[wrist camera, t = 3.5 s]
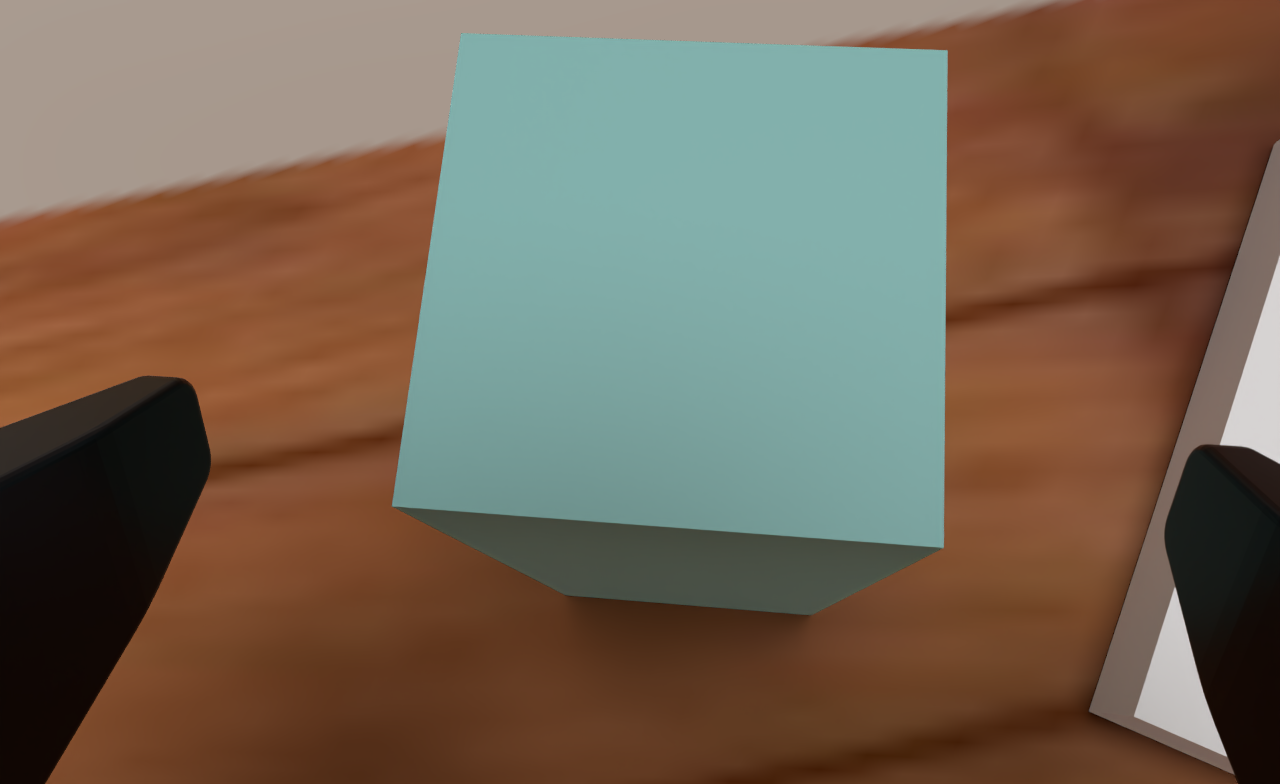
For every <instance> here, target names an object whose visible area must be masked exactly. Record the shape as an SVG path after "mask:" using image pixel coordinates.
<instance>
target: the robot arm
mask: <svg viewBox="0 0 1280 784" xmlns="http://www.w3.org/2000/svg"><path fill="white" fill-rule="evenodd" d="M210 466H211V454H210V448H209V444H208V440H207V435H206V431H205V427H204V423H203V419H202V415H201V411H200V406H199V402H198V398H197V395H196V392H195V389H194V388H193V386H192V385H191V384H190V383H189V382H188V381H187V380H185V379H183V378H177V377H161V376H142V377H138V378H135V379H133V380H130V381H127V382H124V383H122V384H119V385H116V386H113V387H111V388H108V389H105V390H103V391H100V392H97V393H94V394H92V395H89V396H86V397H83V398H81V399H78V400H75V401H73V402H70V403H67V404H64V405H62V406H59V407H56V408H53V409H51V410H48V411H45V412H42V413H40V414H37V415H34V416H32V417H29V418H26V419H23V420H21V421H18V422H15V423H12V424H10V425H7V426H4V427H2V428H0V784H45V783H46V782H47V780H48V778H49V777H50V775H51V773H52V771H53V770H54V768H55V766H56V765H57V763H58V761H59V760H60V758H61V756H62V755H63V753H64V751H65V750H66V748H67V746H68V745H69V743H70V741H71V739H72V738H73V736H74V734H75V733H76V731H77V729H78V728H79V726H80V724H81V723H82V721H83V719H84V718H85V716H86V714H87V712H88V711H89V709H90V707H91V706H92V704H93V702H94V701H95V699H96V697H97V696H98V694H99V692H100V691H101V689H102V687H103V686H104V684H105V682H106V680H107V679H108V677H109V675H110V674H111V672H112V670H113V669H114V667H115V665H116V664H117V662H118V660H119V659H120V657H121V655H122V653H123V652H124V650H125V648H126V647H127V645H128V643H129V642H130V640H131V638H132V637H133V635H134V633H135V632H136V630H137V628H138V626H139V624H140V623H141V621H142V619H143V617H144V615H145V614H146V612H147V610H148V608H149V606H150V604H151V602H152V600H153V598H154V596H155V594H156V592H157V590H158V588H159V586H160V583H161V581H162V579H163V577H164V575H165V572H166V570H167V568H168V566H169V563H170V561H171V559H172V557H173V555H174V552H175V550H176V548H177V546H178V544H179V541H180V539H181V537H182V535H183V532H184V530H185V528H186V526H187V524H188V521H189V519H190V517H191V515H192V512H193V510H194V508H195V506H196V504H197V501H198V499H199V497H200V495H201V492H202V490H203V488H204V486H205V484H206V481H207V479H208V476H209V472H210ZM1164 541H1165V548H1166V553H1167V557H1168V561H1169V565H1170V568H1171V572H1172V576H1173V580H1174V584H1175V588H1176V592H1177V595H1178V599H1179V603H1180V607H1181V611H1182V615H1183V619H1184V622H1185V626H1186V630H1187V634H1188V638H1189V642H1190V646H1191V649H1192V653H1193V657H1194V661H1195V665H1196V669H1197V673H1198V676H1199V679H1200V683H1201V686H1202V689H1203V693H1204V696H1205V699H1206V702H1207V705H1208V708H1209V710H1210V713H1211V716H1212V719H1213V721H1214V724H1215V727H1216V729H1217V732H1218V734H1219V737H1220V739H1221V742H1222V744H1223V747H1224V749H1225V752H1226V754H1227V757H1228V760H1229V762H1230V765H1231V767H1232V770H1233V772H1234V775H1235V777H1236V780H1237V782H1238V784H1280V463H1278V462H1276V461H1274V460H1272V459H1270V458H1268V457H1267V456H1265V455H1263V454H1261V453H1259V452H1257V451H1255V450H1253V449H1251V448H1248V447H1243V446H1230V445H1214V444H1203V445H1200V446H1198V447H1196V448H1195V449H1193V450H1192V452H1191V453H1190V455H1189V456H1188V458H1187V461H1186V463H1185V466H1184V469H1183V472H1182V475H1181V478H1180V481H1179V484H1178V486H1177V489H1176V492H1175V495H1174V498H1173V501H1172V504H1171V507H1170V510H1169V513H1168V516H1167V519H1166V523H1165V529H1164Z"/></svg>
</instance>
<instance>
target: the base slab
mask: <svg viewBox="0 0 1280 784" xmlns="http://www.w3.org/2000/svg"><path fill="white" fill-rule="evenodd" d="M1203 444H1214V445H1230V446H1243V447H1248V448H1251V449H1253V450H1255V451H1257V452H1259V453H1261V454H1263V455H1265V456H1267V457H1268V458H1270V459H1272V460H1274V461H1276V462H1278V463H1280V140H1279V141H1277V142H1276V143H1275V144H1274V146H1273V149H1272V152H1271V155H1270V158H1269V161H1268V164H1267V167H1266V170H1265V173H1264V176H1263V179H1262V182H1261V185H1260V188H1259V192H1258V195H1257V198H1256V201H1255V204H1254V207H1253V210H1252V213H1251V216H1250V219H1249V222H1248V225H1247V228H1246V231H1245V234H1244V237H1243V240H1242V244H1241V247H1240V250H1239V253H1238V256H1237V259H1236V262H1235V265H1234V268H1233V271H1232V274H1231V277H1230V280H1229V283H1228V286H1227V289H1226V293H1225V296H1224V299H1223V302H1222V305H1221V308H1220V311H1219V314H1218V317H1217V320H1216V323H1215V326H1214V329H1213V332H1212V335H1211V338H1210V341H1209V345H1208V348H1207V351H1206V354H1205V357H1204V360H1203V363H1202V366H1201V369H1200V372H1199V375H1198V378H1197V381H1196V384H1195V387H1194V390H1193V393H1192V397H1191V400H1190V403H1189V406H1188V409H1187V412H1186V415H1185V418H1184V421H1183V424H1182V427H1181V430H1180V433H1179V436H1178V439H1177V442H1176V445H1175V449H1174V452H1173V455H1172V458H1171V461H1170V464H1169V467H1168V470H1167V473H1166V476H1165V479H1164V482H1163V485H1162V488H1161V491H1160V494H1159V497H1158V501H1157V504H1156V507H1155V510H1154V513H1153V516H1152V519H1151V522H1150V525H1149V528H1148V531H1147V534H1146V537H1145V540H1144V543H1143V546H1142V550H1141V553H1140V556H1139V559H1138V562H1137V565H1136V568H1135V571H1134V574H1133V577H1132V580H1131V583H1130V586H1129V589H1128V592H1127V595H1126V598H1125V602H1124V605H1123V608H1122V611H1121V614H1120V617H1119V620H1118V623H1117V626H1116V629H1115V632H1114V635H1113V638H1112V641H1111V644H1110V647H1109V650H1108V654H1107V657H1106V660H1105V663H1104V666H1103V669H1102V672H1101V675H1100V678H1099V681H1098V684H1097V687H1096V690H1095V693H1094V696H1093V699H1092V702H1091V706H1090V709H1089V712H1091V713H1094V714H1096V715H1098V716H1100V717H1103V718H1105V719H1107V720H1110V721H1112V722H1114V723H1117V724H1119V725H1121V726H1123V727H1126V728H1128V729H1130V730H1133V731H1135V732H1137V733H1140V734H1142V735H1144V736H1146V737H1149V738H1151V739H1153V740H1156V741H1158V742H1160V743H1162V744H1165V745H1167V746H1169V747H1172V748H1174V749H1176V750H1179V751H1181V752H1183V753H1185V754H1188V755H1190V756H1192V757H1195V758H1197V759H1199V760H1202V761H1204V762H1206V763H1208V764H1211V765H1213V766H1215V767H1218V768H1220V769H1222V770H1224V771H1227V772H1229V773H1231V774H1234V772H1233V770H1232V767H1231V765H1230V762H1229V760H1228V757H1227V754H1226V752H1225V749H1224V747H1223V744H1222V742H1221V739H1220V737H1219V734H1218V732H1217V729H1216V727H1215V724H1214V721H1213V719H1212V716H1211V713H1210V710H1209V708H1208V705H1207V702H1206V699H1205V696H1204V693H1203V689H1202V686H1201V683H1200V679H1199V676H1198V673H1197V669H1196V665H1195V661H1194V657H1193V653H1192V649H1191V646H1190V642H1189V638H1188V634H1187V630H1186V626H1185V622H1184V619H1183V615H1182V611H1181V607H1180V603H1179V599H1178V595H1177V592H1176V588H1175V584H1174V580H1173V576H1172V572H1171V568H1170V565H1169V561H1168V557H1167V553H1166V548H1165V541H1164V529H1165V523H1166V519H1167V516H1168V513H1169V510H1170V507H1171V504H1172V501H1173V498H1174V495H1175V492H1176V489H1177V486H1178V484H1179V481H1180V478H1181V475H1182V472H1183V469H1184V466H1185V463H1186V461H1187V458H1188V456H1189V455H1190V453H1191V452H1192V450H1193V449H1195V448H1196V447H1198V446H1200V445H1203Z"/></svg>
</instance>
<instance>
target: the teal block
mask: <svg viewBox="0 0 1280 784" xmlns="http://www.w3.org/2000/svg"><path fill="white" fill-rule="evenodd" d="M946 177H947V50H920V49H891V48H863V47H835V46H807V45H779V44H749V43H722V42H694V41H664V40H637V39H609V38H581V37H553V36H525V35H524V36H523V35H497V34H468V33H461V38H460V45H459V52H458V59H457V65H456V73H455V79H454V86H453V93H452V99H451V106H450V113H449V120H448V127H447V134H446V140H445V147H444V154H443V161H442V168H441V175H440V181H439V188H438V195H437V202H436V209H435V216H434V222H433V229H432V236H431V243H430V250H429V257H428V263H427V270H426V277H425V284H424V291H423V298H422V304H421V311H420V318H419V325H418V332H417V339H416V345H415V352H414V359H413V366H412V373H411V380H410V386H409V393H408V400H407V407H406V414H405V421H404V427H403V434H402V441H401V448H400V455H399V462H398V468H397V475H396V482H395V489H394V496H393V503H392V507H394V508H396V509H398V510H400V511H402V512H404V513H406V514H408V515H410V516H412V517H414V518H416V519H418V520H420V521H422V522H423V523H425V524H427V525H429V526H431V527H433V528H435V529H437V530H439V531H441V532H443V533H445V534H447V535H449V536H451V537H453V538H455V539H457V540H459V541H461V542H462V543H464V544H466V545H468V546H470V547H472V548H474V549H476V550H478V551H480V552H482V553H484V554H486V555H488V556H490V557H492V558H494V559H496V560H498V561H500V562H502V563H503V564H505V565H507V566H509V567H511V568H513V569H515V570H517V571H519V572H521V573H523V574H525V575H527V576H529V577H531V578H533V579H535V580H537V581H539V582H541V583H542V584H544V585H546V586H548V587H550V588H552V589H554V590H556V591H558V592H560V593H562V594H564V595H568V596H580V597H592V598H605V599H617V600H629V601H642V602H654V603H666V604H678V605H691V606H703V607H715V608H727V609H740V610H752V611H764V612H777V613H789V614H801V615H813V614H815V613H817V612H819V611H821V610H823V609H825V608H827V607H829V606H831V605H833V604H835V603H837V602H838V601H840V600H842V599H844V598H846V597H848V596H850V595H852V594H854V593H856V592H858V591H860V590H862V589H864V588H866V587H868V586H870V585H872V584H874V583H876V582H878V581H880V580H882V579H884V578H886V577H888V576H889V575H891V574H893V573H895V572H897V571H899V570H901V569H903V568H905V567H907V566H909V565H911V564H913V563H915V562H917V561H919V560H921V559H923V558H925V557H927V556H929V555H931V554H933V553H935V552H937V551H938V550H940V549H942V548H944V445H945V311H946Z"/></svg>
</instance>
